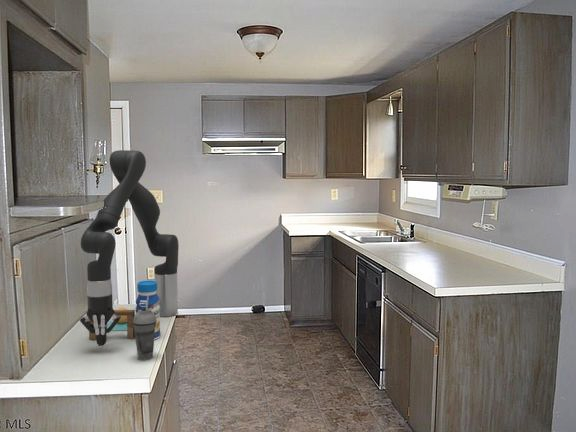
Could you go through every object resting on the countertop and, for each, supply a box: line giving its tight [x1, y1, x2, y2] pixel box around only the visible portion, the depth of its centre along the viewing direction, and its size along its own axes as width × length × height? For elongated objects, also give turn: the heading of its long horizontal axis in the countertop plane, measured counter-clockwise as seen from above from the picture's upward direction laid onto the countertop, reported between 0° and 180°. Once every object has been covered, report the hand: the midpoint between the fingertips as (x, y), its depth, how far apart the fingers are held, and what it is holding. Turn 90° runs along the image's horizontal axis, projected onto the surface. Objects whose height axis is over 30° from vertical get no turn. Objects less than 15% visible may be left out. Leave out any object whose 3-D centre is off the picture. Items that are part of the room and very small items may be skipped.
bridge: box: [88, 309, 136, 341], centre depth 170 cm, size 3×15×10 cm, turn 95°
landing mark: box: [107, 320, 127, 332], centre depth 184 cm, size 12×12×1 cm
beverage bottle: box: [134, 280, 161, 341], centre depth 170 cm, size 8×8×20 cm
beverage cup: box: [133, 295, 157, 361], centre depth 151 cm, size 7×7×20 cm
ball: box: [116, 307, 128, 323], centre depth 187 cm, size 6×6×6 cm
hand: (101, 344), depth 157 cm, fingers closed
